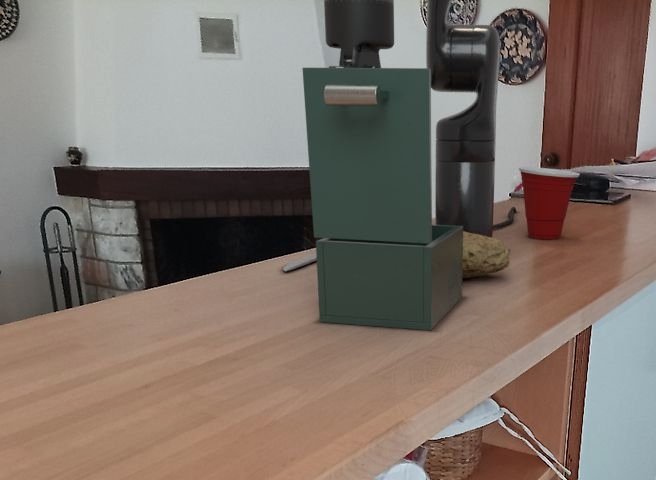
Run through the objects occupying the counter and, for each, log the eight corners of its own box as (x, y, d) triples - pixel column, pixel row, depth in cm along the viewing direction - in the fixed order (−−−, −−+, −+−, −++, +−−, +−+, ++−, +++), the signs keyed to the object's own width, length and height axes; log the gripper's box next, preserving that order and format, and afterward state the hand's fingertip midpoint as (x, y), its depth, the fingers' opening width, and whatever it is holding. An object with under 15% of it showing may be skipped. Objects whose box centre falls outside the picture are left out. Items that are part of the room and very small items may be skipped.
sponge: (350, 286, 108) (474, 272, 97) (346, 228, 107) (470, 208, 96) (406, 286, 118) (523, 274, 108) (403, 234, 118) (520, 217, 107)
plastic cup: (579, 242, 137) (584, 171, 132) (517, 241, 137) (520, 170, 133) (571, 232, 147) (576, 166, 143) (514, 231, 147) (517, 165, 143)
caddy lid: (305, 67, 76) (282, 68, 71) (430, 68, 73) (416, 69, 69) (316, 236, 82) (296, 246, 78) (432, 242, 80) (418, 253, 75)
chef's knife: (266, 272, 110) (285, 273, 109) (265, 264, 109) (284, 264, 108) (332, 249, 126) (348, 250, 125) (331, 242, 126) (348, 242, 125)
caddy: (365, 290, 100) (363, 221, 96) (462, 297, 97) (463, 225, 94) (319, 322, 85) (315, 241, 82) (430, 330, 83) (431, 247, 80)
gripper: (370, -10, 77) (373, 170, 83) (411, 7, 90) (411, 161, 96) (299, -9, 79) (308, 167, 85) (349, 8, 92) (354, 159, 98)
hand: (363, 163), depth 90 cm, fingers closed on block, 4 cm apart
